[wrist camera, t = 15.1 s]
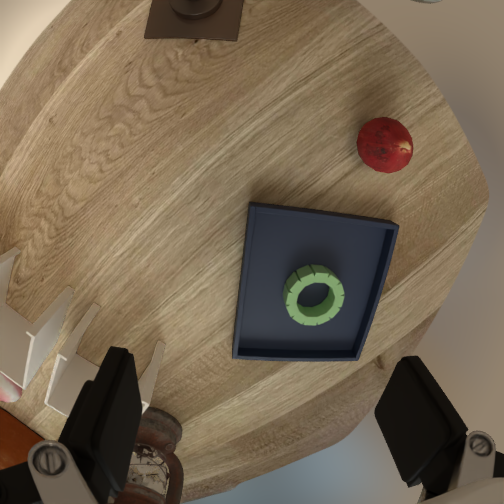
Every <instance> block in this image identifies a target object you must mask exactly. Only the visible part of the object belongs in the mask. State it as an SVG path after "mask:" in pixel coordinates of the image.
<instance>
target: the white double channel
mask: <svg viewBox="0 0 504 504" xmlns="http://www.w3.org/2000/svg"><path fill="white" fill-rule="evenodd" d="M19 253H20V250H19V249H18V248H17V247H13V248H12V249H10V250H9V251H7V252H6V253H4V254H2V255H1V256H0V372H1V373H2V374H3V375H5V376H6V377H7V378H9V379H10V380H11V381H13V382H14V383H15V384H17V385H18V386H20V387H21V388H22V389H24V390H25V389H26V388H27V386H28V385H29V383H30V381H31V380H32V378H33V377H34V375H35V374H36V372H37V371H38V369H39V368H40V366H41V365H42V363H43V362H44V360H45V359H46V357H47V356H48V355H49V353H50V352H51V350H52V349H53V347H54V346H55V345H56V343H57V340H58V337H59V334H60V331H61V328H62V325H63V322H64V319H65V316H66V313H67V310H68V307H69V305H70V302H71V299H72V296H73V294H74V291H75V290H74V289H73V288H71V287H70V286H67V287H66V288H65V289H64V290H63V291H62V292H61V294H60V295H59V296H58V297H57V298H56V299H55V300H54V301H53V302H52V303H51V304H50V305H49V306H48V307H47V309H46V310H45V311H44V312H43V313H42V314H41V315H40V316H39V317H38V319H37V320H36V321H35V322H34V323H33V324H32V323H31V322H29V321H28V320H27V319H25V318H24V317H23V316H21V315H20V314H19V313H18V312H16V311H15V310H14V309H12V308H11V307H10V306H9V305H7V304H6V297H7V291H8V286H9V281H10V276H11V271H12V267H13V262H14V258H15V256H16V255H18V254H19ZM100 308H101V307H100V306H99V305H97V304H96V303H93V304H92V305H91V307H90V308H89V309H88V311H87V312H86V314H85V315H84V316H83V318H82V319H81V320H80V322H79V323H78V325H77V326H76V328H75V329H74V330H73V332H72V333H71V335H70V336H69V338H68V339H67V340H66V342H65V343H64V345H63V346H62V348H61V349H60V351H59V352H58V355H57V358H56V361H55V365H54V368H53V372H52V375H51V379H50V383H49V386H48V390H47V394H46V398H45V402H44V403H45V404H46V405H48V406H49V407H51V408H53V409H54V410H56V411H57V412H59V413H61V414H62V415H64V416H66V417H69V414H70V412H71V410H72V408H73V406H74V404H75V401H76V399H77V397H78V395H79V393H80V391H81V389H82V387H83V385H84V383H85V382H86V381H87V380H92V381H94V379H95V377H96V374H97V372H98V370H99V368H100V367H98V366H96V365H94V364H93V363H91V362H89V361H88V360H86V359H84V358H83V357H81V356H80V355H78V354H76V352H77V349H78V347H79V344H80V342H81V339H82V337H83V334H84V332H85V330H86V329H87V327H88V326H89V324H90V323H91V321H92V320H93V318H94V317H95V315H96V314H97V312H98V311H99V310H100ZM165 345H166V344H164V343H162V342H161V341H159V340H158V341H157V344H156V347H155V350H154V353H153V357H152V360H151V362H150V364H149V365H148V367H147V368H146V370H145V371H144V373H143V374H142V376H141V377H140V379H139V381H138V385H139V391H140V396H141V401H142V407H143V410H142V414H143V413H144V412H145V410H146V409H147V408H148V406H149V405H150V402H151V398H152V394H153V390H154V386H155V382H156V378H157V375H158V371H159V367H160V363H161V360H162V356H163V352H164V349H165Z"/></svg>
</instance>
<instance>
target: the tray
mask: <svg viewBox="0 0 504 504" xmlns="http://www.w3.org/2000/svg"><path fill="white" fill-rule="evenodd" d="M398 230H399V225H398V224H396V223H394V222H392V221H390V220H384V219H378V218H371V217H365V216H358V215H351V214H344V213H337V212H330V211H323V210H315V209H307V208H299V207H291V206H283V205H274V204H266V203H256V202H249V208H248V216H247V224H246V233H245V241H244V249H243V258H242V266H241V275H240V283H239V292H238V301H237V309H236V318H235V327H234V336H233V345H232V359H244V360H265V361H358V360H359V357H360V354H361V352H362V349H363V346H364V344H365V341H366V338H367V335H368V333H369V330H370V327H371V324H372V321H373V318H374V315H375V312H376V309H377V306H378V303H379V299H380V296H381V293H382V290H383V286H384V283H385V279H386V276H387V272H388V269H389V265H390V262H391V258H392V254H393V250H394V246H395V242H396V238H397V234H398ZM311 264H313V265H323V266H324V267H327V268H328V269H330V270H331V271H332V272H334V274H335V275H336V276H337V278H338V279H339V280H340V282H341V283H342V286H343V290H344V293H345V294H344V296H345V297H344V300H343V304H342V307H339V308H340V310H339V311H338V313H337V314H336V315H335V316H334V317H333V318H330V317H329V318H330V320H329V321H327V322H324V323H322V324H319V325H318V324H316V325H304V324H300V323H299V322H297V321H295V320H294V319H292V317H290V315H289V312H288V310H287V308H286V305H285V302H284V299H283V290H284V285H285V283H286V280H287V279H288V278H289V277H290V276H291V275H292V273H293V272H296V273H297V271H296V270H297V269H300V268H302V267H304V266H307V265H309V267H310V265H311ZM328 292H329V286H328V285H327V284H326V283H316V282H315V283H312V284H310V285H308V286H305V287H304V288H303V290H302V291H301V292H300V293H299V294H298V298H297V303H298V304H300V305H301V306H303V307H314V306H316V305H319V304H321V303H322V302H323V301H324V300H325V299H326V297H327V296H328Z"/></svg>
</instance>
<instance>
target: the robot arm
mask: <svg viewBox="0 0 504 504" xmlns="http://www.w3.org/2000/svg"><path fill="white" fill-rule="evenodd" d="M142 410H143V407H142V401H141V396H140V391H139V385H138V380H137V374H136V368H135V361H134V356H133V354H131V353H129V352H128V349H126V348H120V347H113V346H111V347H110V348H109V350H108V352H107V354H106V356H105V358H104V360H103V362H102V364H101V366H100V368H99V370H98V372H97V374H96V377H95V379H94V381H92V380H87V381H86V382H85V383H84V385H83V387H82V389H81V391H80V393H79V395H78V397H77V399H76V401H75V404H74V406H73V408H72V410H71V412H70V414H69V417H68V419H67V421H66V423H65V426H64V428H63V430H62V432H61V435H60V437H59V439H58V442H57V441H53V440H44V441H41V442H38V443H36V444H35V445H34V446H33V447H32V448H31V449H30V451H29V453H28V458H27V460H28V461H26V462H23V463H20V464H17V465H14V466H11V467H8V468H5V469H2V470H0V504H106V503H107V502H108V498H109V496H111V497H115V498H117V497H118V492H119V491H121V492H123V491H124V488H125V484H126V479H127V475H128V470H129V466H130V462H131V457H132V453H133V449H134V445H135V440H136V436H137V432H138V428H139V424H140V420H141V416H142ZM375 417H376V420H377V422H378V424H379V427H380V429H381V431H382V433H383V436H384V438H385V440H386V443H387V445H388V447H389V449H390V452H391V454H392V457H393V459H394V461H395V464H396V466H397V468H398V471H399V473H400V476H401V478H402V480H403V481H404V482H406V483H407V486H408V487H412V486H415V485H419V484H420V483H421V482H422V484H423V489H422V492H421V495H420V497H419V500H418V503H417V504H504V454H502V453H500V452H497V451H496V448H495V443H494V440H493V439H492V438H491V437H490V436H489V435H488V434H486V433H485V432H482V431H473V432H471V433H470V434H469V435H468V436H467V435H466V431H468V428H467V427H466V425H465V423H464V422H463V420H462V419H461V417H460V416H459V414H458V413H457V411H456V410H455V408H454V407H453V405H452V404H451V402H450V401H449V399H448V398H447V396H446V395H445V393H444V392H443V390H442V389H441V387H440V386H439V385H438V383H437V382H436V380H435V379H434V377H433V376H432V374H431V373H430V372H429V370H428V369H427V367H426V366H425V365H424V363H423V362H422V361H421V359H420V358H419V357H418V356H406V357H403V358H402V359H401V360H400V361H399V362H398V363H397V365H396V367H395V369H394V371H393V373H392V376H391V378H390V380H389V382H388V384H387V386H386V388H385V390H384V392H383V394H382V396H381V398H380V400H379V402H378V404H377V406H376V408H375Z"/></svg>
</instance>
